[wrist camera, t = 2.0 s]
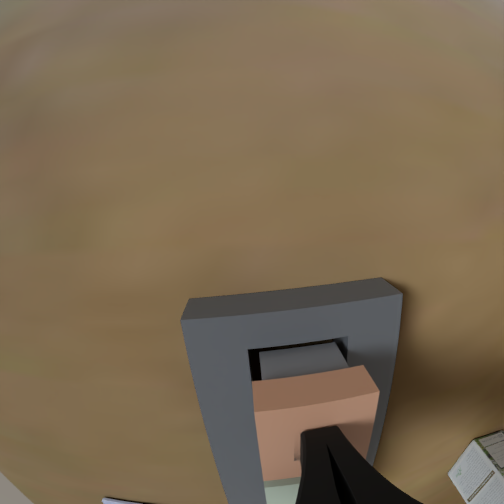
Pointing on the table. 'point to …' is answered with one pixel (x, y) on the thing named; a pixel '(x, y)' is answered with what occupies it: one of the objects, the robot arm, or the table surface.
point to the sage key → (282, 490)
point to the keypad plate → (279, 334)
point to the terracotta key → (309, 404)
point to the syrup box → (481, 470)
